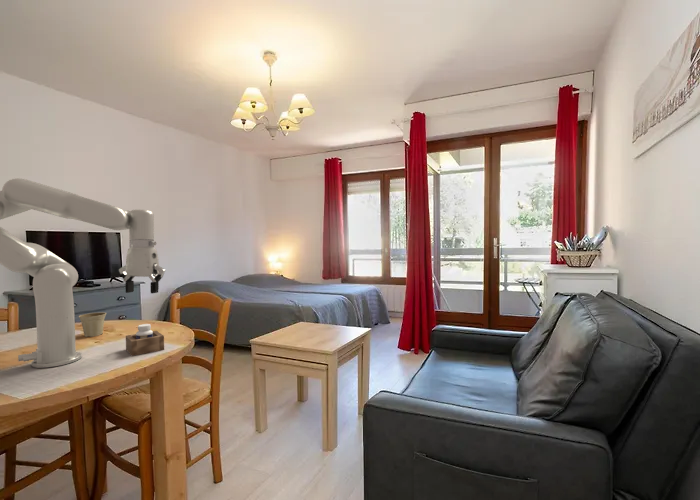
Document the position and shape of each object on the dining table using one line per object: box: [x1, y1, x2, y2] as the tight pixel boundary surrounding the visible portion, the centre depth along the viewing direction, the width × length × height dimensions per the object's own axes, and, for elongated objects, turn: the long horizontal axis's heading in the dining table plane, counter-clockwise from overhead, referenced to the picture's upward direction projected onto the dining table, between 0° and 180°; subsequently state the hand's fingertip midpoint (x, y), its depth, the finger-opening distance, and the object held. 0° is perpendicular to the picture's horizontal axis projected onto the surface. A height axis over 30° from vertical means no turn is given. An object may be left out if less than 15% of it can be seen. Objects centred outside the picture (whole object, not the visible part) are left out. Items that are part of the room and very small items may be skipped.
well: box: [125, 330, 165, 357], centre depth 127 cm, size 10×10×5 cm
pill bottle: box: [135, 323, 154, 340], centre depth 127 cm, size 5×5×9 cm
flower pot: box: [78, 311, 107, 338], centre depth 147 cm, size 9×9×9 cm
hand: (142, 292), depth 126 cm, fingers open, 9 cm apart
